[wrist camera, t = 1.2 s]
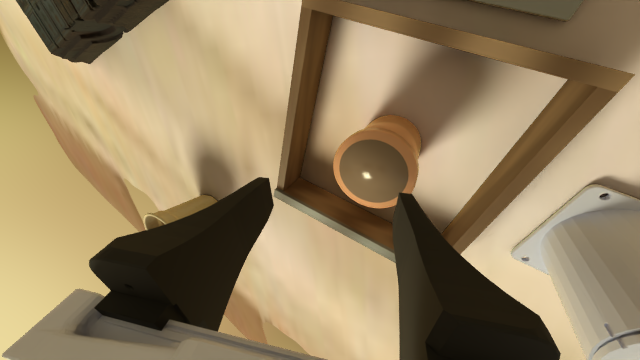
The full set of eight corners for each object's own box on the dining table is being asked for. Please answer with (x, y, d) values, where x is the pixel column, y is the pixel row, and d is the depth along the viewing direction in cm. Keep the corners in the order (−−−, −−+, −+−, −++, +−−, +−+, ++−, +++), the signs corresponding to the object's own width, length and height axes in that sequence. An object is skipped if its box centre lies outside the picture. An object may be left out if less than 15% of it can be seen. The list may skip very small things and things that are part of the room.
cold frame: (596, 69, 13) (641, 75, 10) (436, 253, 23) (434, 284, 20) (326, 0, 17) (300, -10, 14) (293, 180, 28) (273, 196, 25)
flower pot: (190, 176, 38) (135, 203, 31) (233, 200, 35) (183, 235, 29) (197, 215, 43) (151, 245, 37) (235, 238, 41) (193, 275, 34)
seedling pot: (438, 126, 18) (434, 154, 13) (406, 183, 21) (394, 221, 17) (371, 101, 19) (345, 118, 15) (351, 158, 23) (325, 187, 18)
